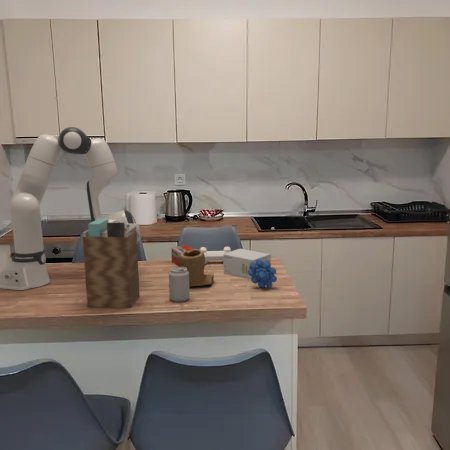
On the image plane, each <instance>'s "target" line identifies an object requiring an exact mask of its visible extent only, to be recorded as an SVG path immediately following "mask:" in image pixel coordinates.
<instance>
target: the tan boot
mask: <svg viewBox="0 0 450 450" xmlns="http://www.w3.org/2000/svg"><path fill="white" fill-rule="evenodd" d="M179 261H180V267H185V268H187V271H188V272H189V287H200V286H202V287H203V286H209V285H212V284H213V282H214V277H215V276H214V275H215V274H205V272H204V271H205V265H206V264H205V255H204V253H203V251H202V250H200V248H199V249H198V248H193V249H192V250H189V251H184V252H182V253H181V254H180V257H179Z"/></svg>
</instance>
